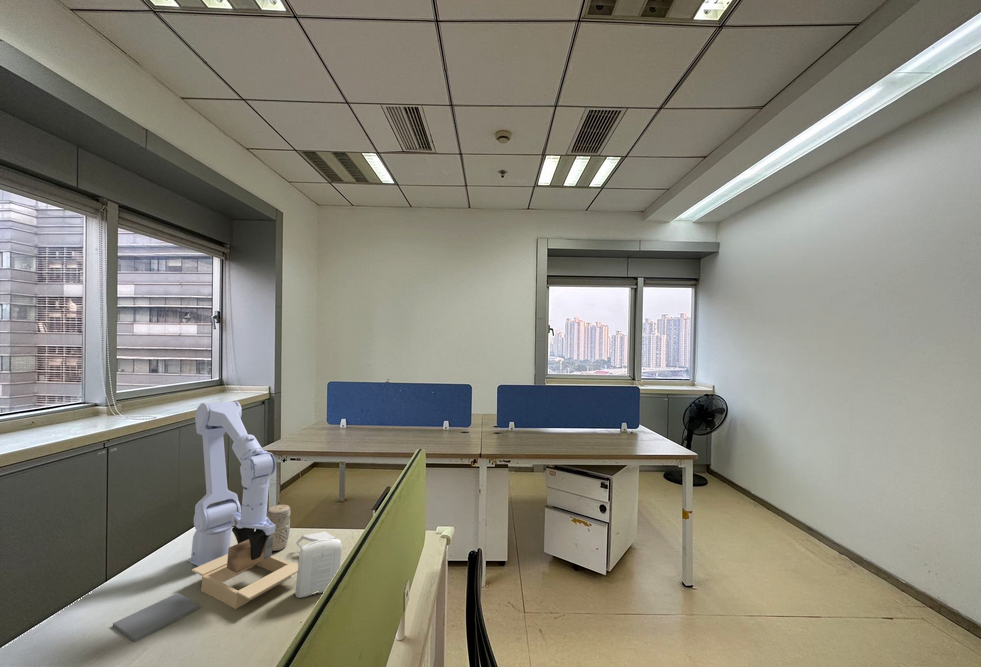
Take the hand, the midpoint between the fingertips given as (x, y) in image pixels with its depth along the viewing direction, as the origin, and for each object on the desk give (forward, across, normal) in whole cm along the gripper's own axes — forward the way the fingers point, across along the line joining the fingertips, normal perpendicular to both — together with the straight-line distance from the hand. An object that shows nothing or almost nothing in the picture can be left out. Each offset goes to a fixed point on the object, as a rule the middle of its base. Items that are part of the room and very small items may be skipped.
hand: (250, 555), depth 99 cm
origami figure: (+7, +2, +20) cm, 21 cm away
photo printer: (+7, +17, +7) cm, 20 cm away
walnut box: (+2, 0, -1) cm, 2 cm away
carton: (+7, 0, 0) cm, 7 cm away
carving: (+7, -10, +15) cm, 19 cm away
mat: (+7, -5, -17) cm, 19 cm away
